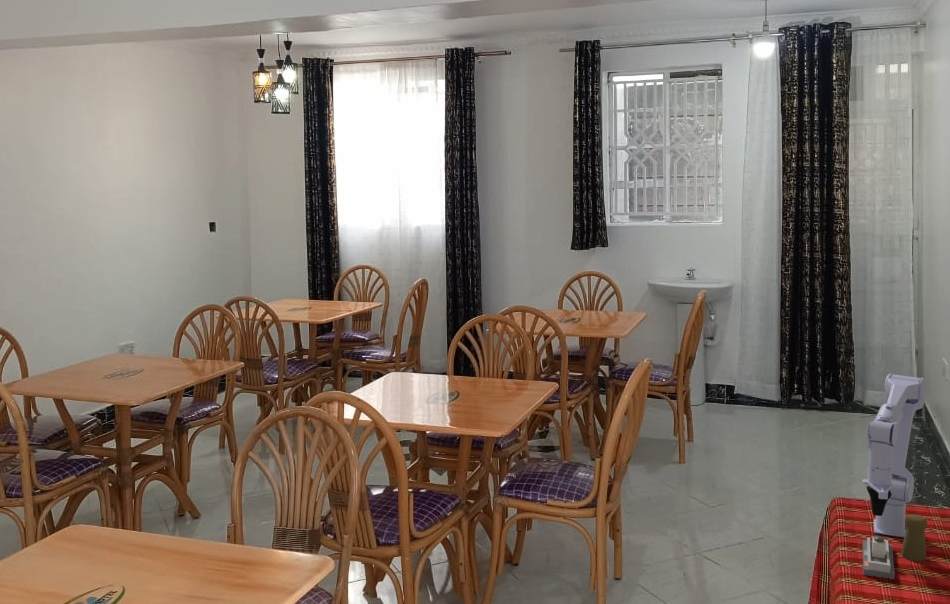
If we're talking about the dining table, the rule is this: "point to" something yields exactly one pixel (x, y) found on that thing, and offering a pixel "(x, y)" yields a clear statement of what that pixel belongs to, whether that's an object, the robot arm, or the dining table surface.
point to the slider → (878, 547)
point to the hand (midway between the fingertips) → (877, 514)
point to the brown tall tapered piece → (914, 538)
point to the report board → (877, 561)
